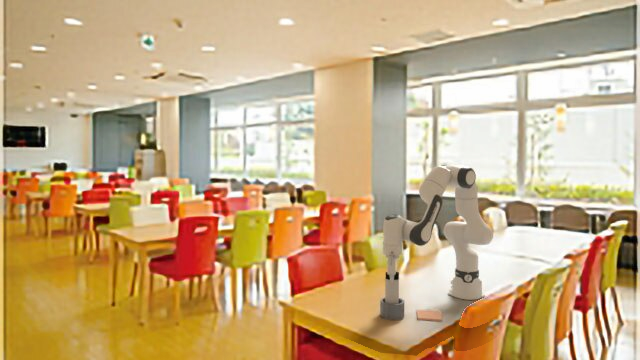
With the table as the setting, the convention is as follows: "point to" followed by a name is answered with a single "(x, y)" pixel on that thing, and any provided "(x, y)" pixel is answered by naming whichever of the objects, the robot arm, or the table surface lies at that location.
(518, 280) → the table surface
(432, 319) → the terracotta tile
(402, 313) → the faceted gray cup
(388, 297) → the travel mug
